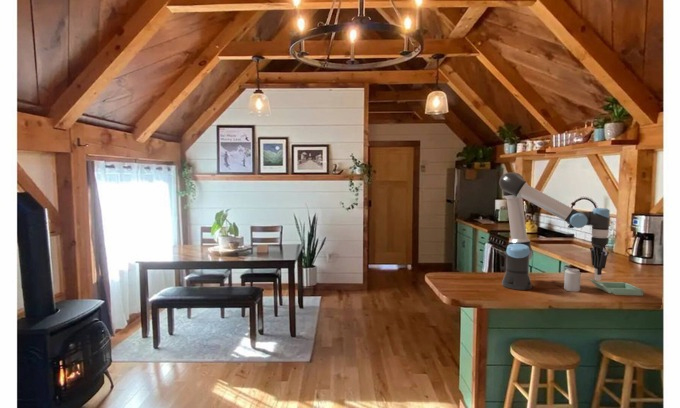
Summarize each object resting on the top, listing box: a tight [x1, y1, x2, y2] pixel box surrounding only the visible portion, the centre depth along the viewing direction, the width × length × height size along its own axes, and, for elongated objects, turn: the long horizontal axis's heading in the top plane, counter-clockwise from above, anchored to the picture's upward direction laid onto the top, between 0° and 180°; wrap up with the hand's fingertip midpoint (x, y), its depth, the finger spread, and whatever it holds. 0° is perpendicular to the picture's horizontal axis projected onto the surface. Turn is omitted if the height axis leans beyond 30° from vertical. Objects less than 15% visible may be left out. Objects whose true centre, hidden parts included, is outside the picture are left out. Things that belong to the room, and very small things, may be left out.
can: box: [563, 267, 582, 293], centre depth 208 cm, size 8×8×12 cm
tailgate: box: [589, 278, 612, 294], centre depth 207 cm, size 1×11×6 cm
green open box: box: [599, 281, 644, 296], centre depth 207 cm, size 14×14×4 cm
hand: (597, 280), depth 207 cm, fingers closed
